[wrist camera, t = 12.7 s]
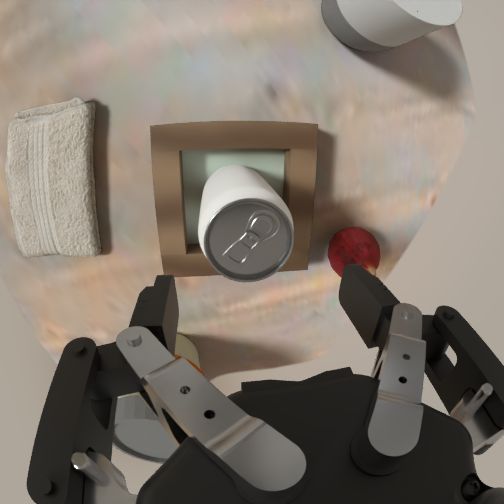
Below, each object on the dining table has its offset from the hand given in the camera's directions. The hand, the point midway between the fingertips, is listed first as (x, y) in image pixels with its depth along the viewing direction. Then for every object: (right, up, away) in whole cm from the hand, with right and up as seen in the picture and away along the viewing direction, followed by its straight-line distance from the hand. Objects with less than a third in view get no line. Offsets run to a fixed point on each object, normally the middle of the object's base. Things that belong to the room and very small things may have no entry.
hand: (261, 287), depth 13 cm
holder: (-2, +8, +16) cm, 18 cm away
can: (-2, +7, +15) cm, 17 cm away
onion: (+10, +3, +20) cm, 23 cm away
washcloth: (-23, +10, +13) cm, 28 cm away
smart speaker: (+11, +27, +9) cm, 31 cm away
